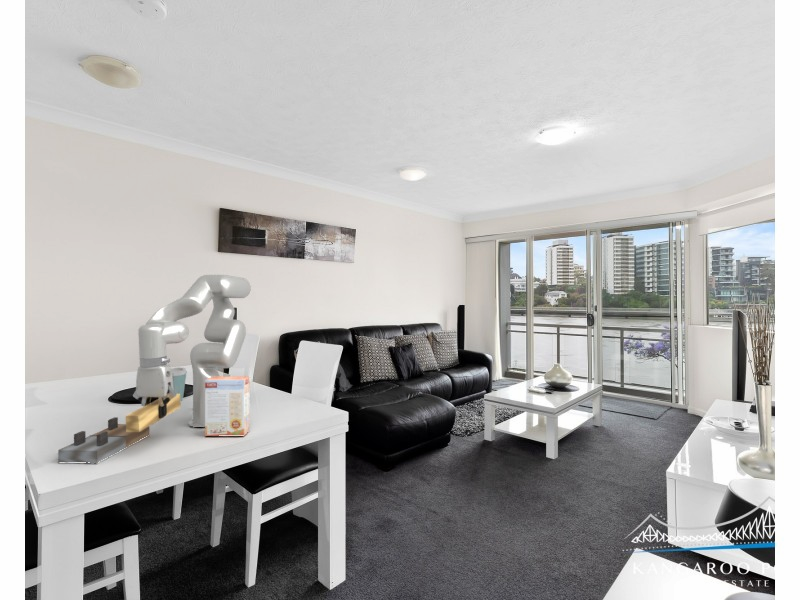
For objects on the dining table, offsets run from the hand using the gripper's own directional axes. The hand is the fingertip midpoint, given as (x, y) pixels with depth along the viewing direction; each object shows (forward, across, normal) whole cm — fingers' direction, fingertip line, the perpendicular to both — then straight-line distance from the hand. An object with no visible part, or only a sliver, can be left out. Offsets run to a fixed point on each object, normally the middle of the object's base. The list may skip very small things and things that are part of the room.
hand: (155, 416), depth 134 cm
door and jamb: (+10, +15, +2) cm, 19 cm away
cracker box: (+12, -18, -13) cm, 25 cm away
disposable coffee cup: (+13, +27, -55) cm, 63 cm away
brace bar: (+1, 0, 0) cm, 1 cm away
